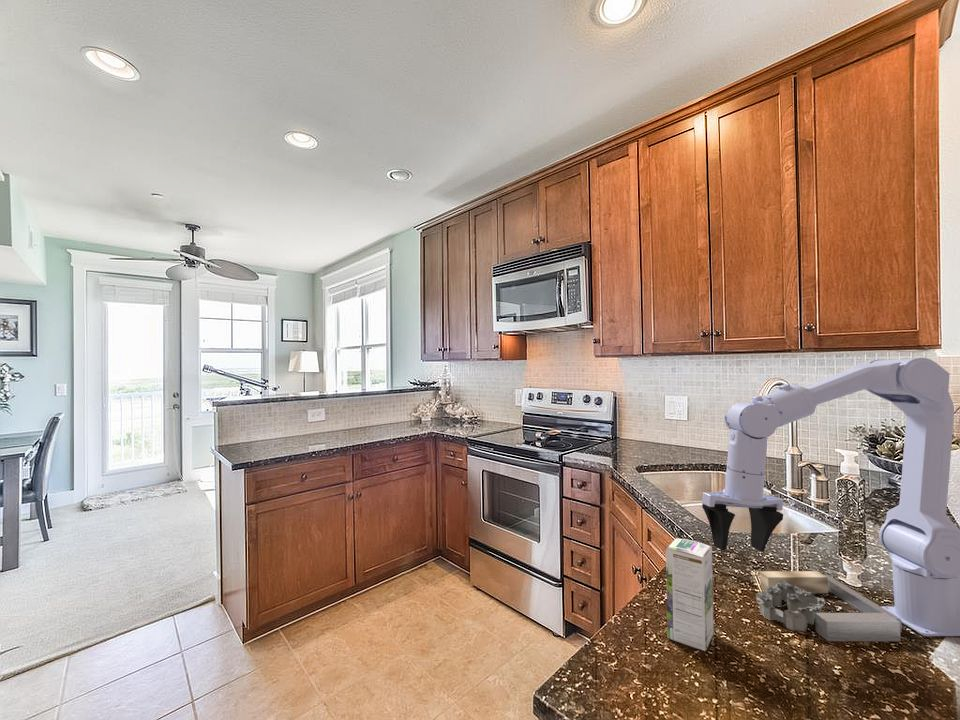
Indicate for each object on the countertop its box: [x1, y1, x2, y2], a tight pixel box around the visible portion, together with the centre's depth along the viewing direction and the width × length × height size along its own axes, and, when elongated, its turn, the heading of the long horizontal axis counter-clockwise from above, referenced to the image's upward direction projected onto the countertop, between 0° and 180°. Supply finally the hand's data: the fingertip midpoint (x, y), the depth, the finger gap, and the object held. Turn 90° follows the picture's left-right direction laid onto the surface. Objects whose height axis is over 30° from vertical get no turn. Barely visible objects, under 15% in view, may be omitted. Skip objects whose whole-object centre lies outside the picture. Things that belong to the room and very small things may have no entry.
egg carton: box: [755, 580, 826, 632], centre depth 74 cm, size 11×8×4 cm
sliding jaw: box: [759, 570, 829, 594], centre depth 82 cm, size 11×2×3 cm, turn 88°
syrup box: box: [665, 537, 715, 652], centre depth 69 cm, size 6×6×14 cm
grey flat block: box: [814, 574, 903, 642], centre depth 76 cm, size 14×18×3 cm
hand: (738, 548), depth 75 cm, fingers open, 7 cm apart
